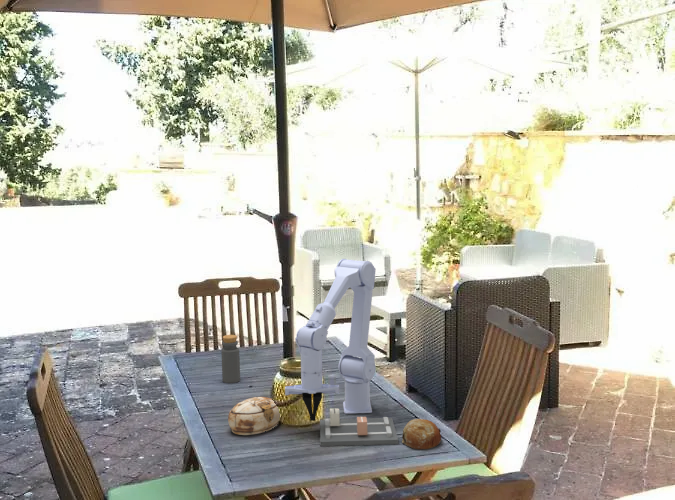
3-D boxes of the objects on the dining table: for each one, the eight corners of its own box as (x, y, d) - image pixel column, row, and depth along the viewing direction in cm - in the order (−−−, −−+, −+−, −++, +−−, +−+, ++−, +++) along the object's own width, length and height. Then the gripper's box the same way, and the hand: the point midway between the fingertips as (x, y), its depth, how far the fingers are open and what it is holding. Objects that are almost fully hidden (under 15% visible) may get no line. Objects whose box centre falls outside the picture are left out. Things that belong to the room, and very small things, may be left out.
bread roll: (402, 450, 203) (390, 426, 201) (433, 429, 206) (421, 405, 203) (419, 464, 194) (406, 439, 192) (451, 442, 196) (439, 417, 194)
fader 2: (356, 429, 204) (356, 416, 203) (366, 429, 204) (366, 416, 203) (357, 435, 200) (357, 421, 199) (367, 435, 200) (367, 421, 199)
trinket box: (224, 436, 205) (223, 408, 204) (238, 416, 220) (237, 390, 219) (273, 438, 204) (272, 409, 203) (284, 418, 218) (283, 391, 217)
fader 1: (330, 420, 210) (329, 408, 210) (339, 420, 210) (338, 408, 210) (330, 426, 206) (330, 413, 206) (339, 425, 207) (339, 413, 206)
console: (320, 423, 213) (319, 416, 213) (392, 421, 214) (391, 414, 213) (320, 446, 197) (320, 438, 197) (398, 444, 198) (398, 435, 197)
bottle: (238, 383, 251) (237, 338, 249) (221, 383, 251) (219, 338, 249) (241, 377, 257) (239, 334, 255) (224, 378, 257) (222, 334, 255)
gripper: (284, 375, 202) (285, 425, 204) (339, 374, 203) (340, 423, 204) (285, 368, 209) (286, 416, 211) (338, 366, 210) (339, 414, 211)
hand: (312, 419), depth 208 cm, fingers closed
